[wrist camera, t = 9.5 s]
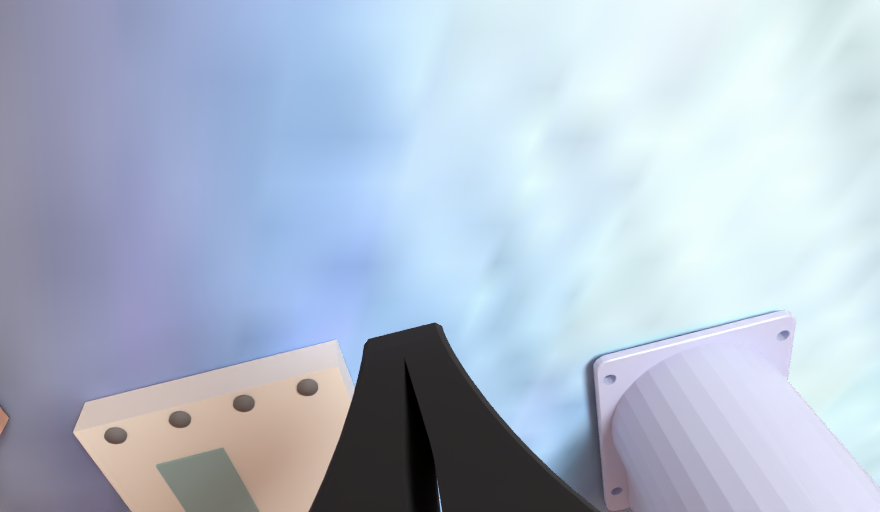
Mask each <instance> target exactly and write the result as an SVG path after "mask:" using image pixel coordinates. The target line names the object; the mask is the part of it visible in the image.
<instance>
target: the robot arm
mask: <svg viewBox="0 0 880 512" xmlns="http://www.w3.org/2000/svg"><path fill="white" fill-rule="evenodd" d="M795 326H796V318H795V317H794V316H793V315H792V314H791V313H790V312H789V311H786V310H782V311H777V312H773V313H769V314H765V315H761V316H757V317H753V318H749V319H745V320H741V321H737V322H733V323H729V324H725V325H722V326H718V327H714V328H710V329H706V330H702V331H698V332H694V333H690V334H686V335H682V336H678V337H674V338H670V339H666V340H662V341H658V342H654V343H650V344H646V345H642V346H639V347H635V348H631V349H627V350H623V351H619V352H615V353H611V354H607V355H604V356H601V357H600V358H598V359H597V360H596V361H595V363H594V366H593V370H594V382H595V394H596V406H597V418H598V430H599V442H600V454H601V466H602V478H603V490H604V501H605V504H606V506H607V508H608V509H609V510H610V511H619V510H623V509H627V508H631V510H632V512H880V487H879V486H878V485H877V484H876V483H875V482H874V480H873V479H872V478H871V477H870V476H869V475H868V473H867V472H866V471H865V470H864V469H863V468H862V466H861V465H860V464H859V463H858V462H857V461H856V459H855V458H854V457H853V456H852V455H851V454H850V452H849V451H848V450H847V449H846V448H845V447H844V445H843V444H842V443H841V442H840V441H839V440H838V438H837V437H836V436H835V435H834V434H833V433H832V431H831V430H830V429H829V428H828V427H827V426H826V424H825V423H824V422H823V421H822V420H821V419H820V417H819V416H818V415H817V414H816V413H815V412H814V410H813V409H812V408H811V407H810V406H809V405H808V403H807V402H806V401H805V400H804V399H803V398H802V396H801V395H800V394H799V393H798V392H797V391H796V389H795V388H794V387H793V386H792V385H791V384H790V382H789V381H788V374H789V367H790V360H791V353H792V347H793V340H794V333H795ZM608 375H610V376H609V377H607V378H605V377H606V376H608ZM437 480H438V483H437ZM438 487H439V493H440V499H441V506H442V512H600V511H599V510H597V509H596V508H595V507H594V506H592V505H591V504H590V503H589V502H587V501H586V500H585V499H584V498H583V497H581V496H580V495H579V494H578V493H576V492H575V491H574V490H573V489H572V488H571V487H569V486H568V485H567V484H566V483H565V482H564V481H563V480H562V479H561V478H560V477H558V476H557V475H556V474H555V473H554V472H553V471H552V470H551V469H550V468H549V467H548V466H547V465H546V464H545V463H544V462H543V461H542V460H540V459H539V458H538V457H537V456H536V455H535V454H534V453H533V452H532V451H531V450H530V449H529V448H528V447H527V445H526V444H525V443H524V442H523V441H522V440H521V439H520V438H519V437H518V436H517V435H516V434H515V433H514V432H513V430H512V429H511V428H510V427H509V426H508V425H507V424H506V422H505V421H504V420H503V419H502V418H501V417H500V416H499V414H498V413H497V412H496V411H495V409H494V408H493V407H492V406H491V405H490V403H489V402H488V401H487V400H486V398H485V397H484V396H483V394H482V393H481V392H480V390H479V389H478V388H477V386H476V385H475V384H474V382H473V381H472V380H471V378H470V377H469V375H468V374H467V372H466V371H465V369H464V368H463V366H462V365H461V363H460V362H459V360H458V358H457V357H456V355H455V353H454V352H453V350H452V348H451V346H450V344H449V342H448V340H447V338H446V336H445V334H444V331H443V328H442V326H441V325H439V324H437V323H431V324H427V325H423V326H419V327H415V328H411V329H407V330H403V331H399V332H395V333H391V334H387V335H383V336H379V337H375V338H371V339H368V341H367V342H366V343H365V345H364V349H363V356H362V361H361V366H360V371H359V375H358V379H357V383H356V387H355V390H354V394H353V398H352V401H351V404H350V407H349V410H348V413H347V417H346V420H345V423H344V426H343V429H342V432H341V435H340V438H339V441H338V443H337V446H336V448H335V451H334V453H333V456H332V458H331V461H330V464H329V466H328V469H327V471H326V474H325V476H324V479H323V481H322V483H321V485H320V488H319V490H318V492H317V495H316V497H315V499H314V501H313V503H312V505H311V507H310V509H309V512H440V503H439V493H438Z"/></svg>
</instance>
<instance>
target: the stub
mask: <svg viewBox="0 0 880 512" xmlns="http://www.w3.org/2000/svg"><path fill="white" fill-rule="evenodd" d="M8 419H9V417H8V416H7V415H6V413H5V412H4V411H3V410H2V409H1V407H0V434H1V432H2V431H3V429H4V427H5V425H6V423H7V421H8Z"/></svg>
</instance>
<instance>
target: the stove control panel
mask: <svg viewBox="0 0 880 512" xmlns="http://www.w3.org/2000/svg"><path fill="white" fill-rule="evenodd" d="M354 390H355V387H354V385H353V382H352V379H351V377H350V374H349V371H348V368H347V366H346V363H345V360H344V358H343V355H342V352H341V349H340V347H339V344H338V341H337V340H333V341H329V342H325V343H321V344H317V345H313V346H309V347H305V348H301V349H297V350H293V351H289V352H285V353H281V354H277V355H273V356H269V357H265V358H261V359H257V360H253V361H249V362H245V363H241V364H237V365H233V366H229V367H225V368H221V369H217V370H213V371H209V372H205V373H201V374H197V375H193V376H189V377H185V378H181V379H177V380H173V381H169V382H165V383H161V384H157V385H153V386H149V387H145V388H141V389H137V390H133V391H129V392H125V393H121V394H117V395H113V396H109V397H105V398H101V399H97V400H93V401H89V402H85V404H84V407H83V409H82V412H81V414H80V417H79V419H78V421H77V424H76V426H75V429H74V431H73V433H74V435H75V436H76V437H77V439H78V440H79V441H80V443H81V444H82V445H83V447H84V448H85V449H86V451H87V452H88V454H89V455H90V456H91V458H92V459H93V460H94V462H95V463H96V464H97V466H98V467H99V468H100V470H101V471H102V472H103V474H104V475H105V476H106V478H107V479H108V480H109V482H110V483H111V484H112V486H113V487H114V489H115V490H116V491H117V493H118V494H119V495H120V497H121V498H122V499H123V501H124V502H125V503H126V505H127V506H128V507H129V509H130V510H131V511H132V512H309V509H310V507H311V505H312V503H313V501H314V499H315V497H316V495H317V492H318V490H319V488H320V485H321V483H322V481H323V479H324V476H325V474H326V471H327V469H328V466H329V464H330V461H331V458H332V456H333V453H334V451H335V448H336V446H337V443H338V441H339V438H340V435H341V432H342V429H343V426H344V423H345V420H346V417H347V413H348V410H349V407H350V404H351V401H352V398H353V394H354Z"/></svg>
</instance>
